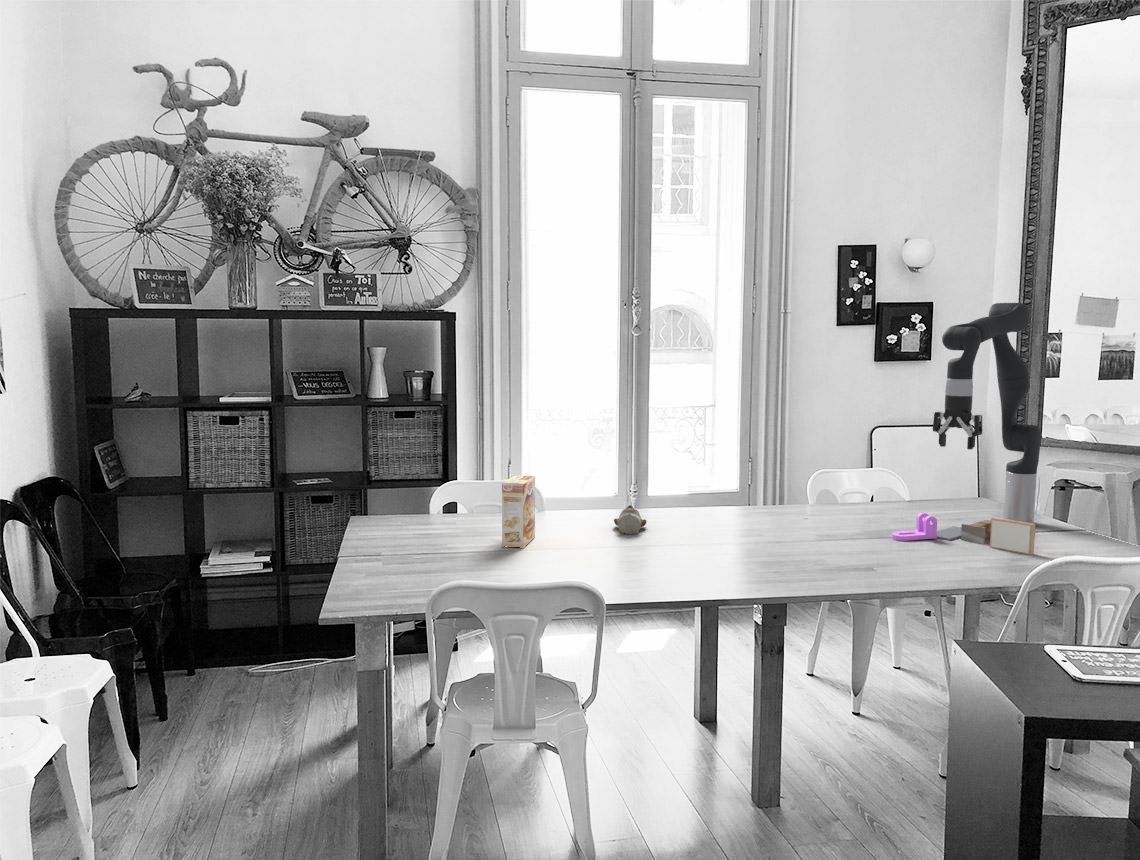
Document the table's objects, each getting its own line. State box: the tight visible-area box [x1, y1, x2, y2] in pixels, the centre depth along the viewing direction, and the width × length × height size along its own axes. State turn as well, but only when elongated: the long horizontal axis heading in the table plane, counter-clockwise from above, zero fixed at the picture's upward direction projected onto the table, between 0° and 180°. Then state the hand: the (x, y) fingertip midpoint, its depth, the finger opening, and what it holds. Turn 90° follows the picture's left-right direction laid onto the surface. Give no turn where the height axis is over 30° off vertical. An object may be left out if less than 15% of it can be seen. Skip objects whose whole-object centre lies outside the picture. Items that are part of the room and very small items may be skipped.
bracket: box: [891, 512, 938, 542], centre depth 291 cm, size 13×6×7 cm, turn 99°
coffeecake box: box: [501, 474, 536, 549], centre depth 284 cm, size 15×7×20 cm, turn 168°
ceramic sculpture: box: [613, 505, 648, 535], centre depth 301 cm, size 11×9×15 cm
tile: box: [989, 516, 1036, 556], centre depth 275 cm, size 2×12×9 cm, turn 40°
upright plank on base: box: [960, 519, 991, 545], centre depth 291 cm, size 12×7×5 cm, turn 130°
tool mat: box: [936, 525, 961, 542], centre depth 297 cm, size 18×8×1 cm, turn 130°
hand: (956, 447), depth 281 cm, fingers open, 8 cm apart
